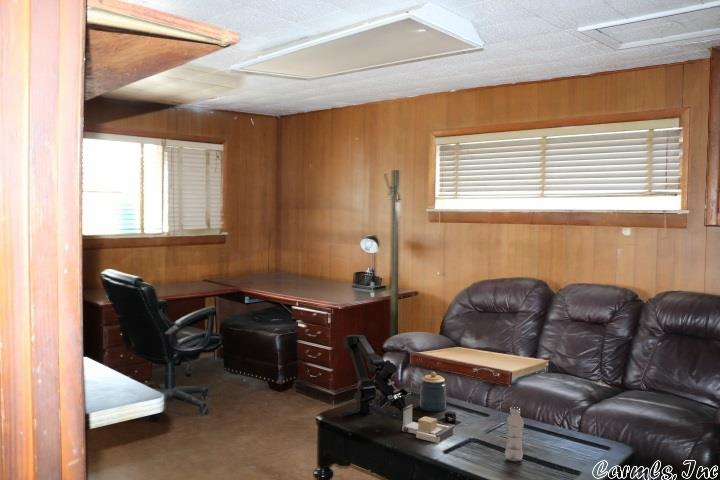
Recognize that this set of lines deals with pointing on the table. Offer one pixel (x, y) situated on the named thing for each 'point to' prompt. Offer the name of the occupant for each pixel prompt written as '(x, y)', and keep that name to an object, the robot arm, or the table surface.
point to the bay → (440, 436)
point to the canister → (433, 393)
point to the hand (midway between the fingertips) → (405, 413)
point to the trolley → (419, 423)
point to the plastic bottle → (514, 435)
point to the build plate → (448, 420)
